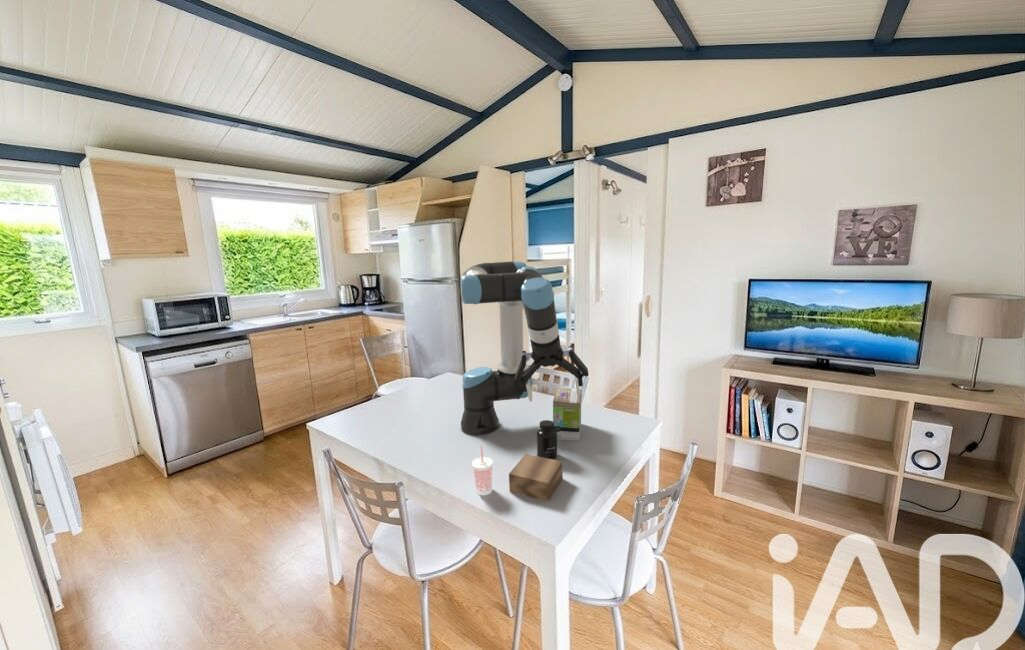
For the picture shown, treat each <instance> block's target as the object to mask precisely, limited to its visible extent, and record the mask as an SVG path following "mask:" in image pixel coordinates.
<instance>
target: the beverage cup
mask: <svg viewBox="0 0 1025 650" xmlns="http://www.w3.org/2000/svg"><path fill="white" fill-rule="evenodd" d="M483 452H484V451H483V446H482V445H480V457H476V458H475V459H473V460H472V462H471V466H472V467H471V468H472V469H473V478H474V483H475V485H474V486H475V491H476V494H477V495H479V496H487V495H489V494H491V493H492V491H493V466H494V462H493V461H494V460H493V459H492V458H491V457H488V456H484V453H483Z"/></svg>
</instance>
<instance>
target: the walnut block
mask: <svg viewBox="0 0 1025 650" xmlns="http://www.w3.org/2000/svg"><path fill="white" fill-rule="evenodd" d="M563 472H564V471H563V461H561V460H558V459H557V460H556V459H554V460H553V459H548V458H543V457H539V456H537V455H532V454H528V453H525V454H524V455H523V457H521V459H520V460H519V461H518V463H516V465H515V466H513V468H512V470H511V471H510V472H509V473H508V481H509V482H508V484H509V493H514V494H516V495H519V496H520V495H521V496H525V497H529V498H532V499H533V498H534V499H536V500H541V501H545V502H550V500H552V497H553V496H554V494H555V492H556V491H557V489H558V487H559V485H560V484H561V482H562V481H563V479H564V478H563V476H564V475H563Z"/></svg>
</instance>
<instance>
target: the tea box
mask: <svg viewBox="0 0 1025 650" xmlns="http://www.w3.org/2000/svg"><path fill="white" fill-rule="evenodd" d="M579 392H580V397H577V390H576V388H565V387H564V388H563V387H562V388H561V387H560V388H559V387H556V389H555V393H554V397H553V400H552V421H553V422H554V429H555V430H556V432H557V440H562V441H576V442H577V441H578V442H579V441H580V436H581V429H582V428H581V427H582V389H581V388H579Z"/></svg>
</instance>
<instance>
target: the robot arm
mask: <svg viewBox="0 0 1025 650" xmlns="http://www.w3.org/2000/svg"><path fill="white" fill-rule="evenodd" d="M460 289H461V290H460V293H461V300H462V303H463V304H466V305H478V304H490V303H491V304H493V303H498V304H499V327H500V331H499V332H500V333H499V335H500V358H501V359H500V360H501V361H500V363H499V364H497V370H493V369H492V368H491V367H489V366H486V367H485V366H480V367H475V368H472V369H469V370H467V371H466V372H465V373H464V374H463V376H462V384H461V386H462V391H463V392H462V393H463V413H462V417H461V422H460V430H461V431H462V432H463V433H465V434H467V435H472V436H481V435H482V436H484V435H488V434H491V433H494V432H495V431H497V430H498V429H499V427H500V420H499V419H500V418H499V417H498V415H497V412H496V409H495V405H494V403H495V402H498V401H499V402H501V401H509V400H510V401H511V400H520V399H525V398H528V400H529V402H533V393H532V392H533V391H532V385H533V379H532V378H533V375H534V374H535V373H536V371H538V370H539V369H540V368H541V367H543V368H545V367H555V366H558V367H560V368H562V369H564V370H565V371H567V372H568V373H569V374H571V375H572V376H574V380H575V389H576V390H577V397H580V392H579V389H580V387H583V378H584V377H585V378H586V377H588V376H589V369H588V367H587V366H586V365H585V363H584V362H583V361H582V360H581V358H579V356H578V355H577V354H576V352H575V351H574V347H573V346H572V345H569V346H568V348H564V349H563V348H562V347H561V346H562V345H561V340H560V334H559V333H560V331H559V325H558V319H557V313H556V307H555V306H556V305H555V304H556V303H555V293H554V290H553V286H552V283H551V281H550V280H549V279H546V278H545V277H544V276H543V275H542V274H541V273H540V272H539V270H537V268H535V267H534V266H529V265H527V264H526V263H525V262H523V261H511V260H510V261H497V262H483V263H478V264H475V265H472V266H470V267H469V268H466V270H464V271H463V272H462V274H461V277H460ZM523 311H524V312H523ZM523 313H524V314H525V318H526V325H527V330H528V335H529V339H530V345H531V352H527V351H526V350H524V328H523V327H524V318H523V317H524V314H523ZM564 355H565V356H567V358H570V361H571V362H572V363H571V362H569V361H568V360H567V359H565V357H564ZM531 359H532V360H533V361H532V363H531V365H530V366H528V365H527V363H528V362H529V361H530V360H531Z"/></svg>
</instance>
